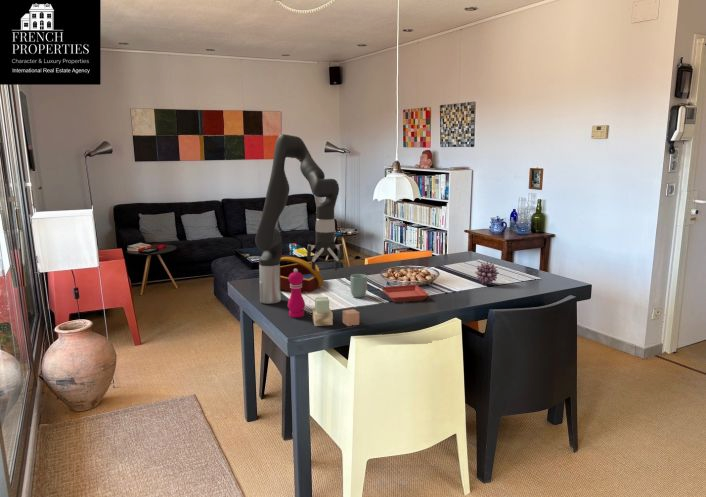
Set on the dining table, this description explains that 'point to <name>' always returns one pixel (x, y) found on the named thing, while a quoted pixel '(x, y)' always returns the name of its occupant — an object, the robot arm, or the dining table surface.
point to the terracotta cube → (350, 317)
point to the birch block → (322, 318)
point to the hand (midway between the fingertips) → (325, 270)
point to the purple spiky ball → (486, 273)
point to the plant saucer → (405, 293)
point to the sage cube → (322, 305)
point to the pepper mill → (296, 295)
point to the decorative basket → (309, 276)
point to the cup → (358, 285)
